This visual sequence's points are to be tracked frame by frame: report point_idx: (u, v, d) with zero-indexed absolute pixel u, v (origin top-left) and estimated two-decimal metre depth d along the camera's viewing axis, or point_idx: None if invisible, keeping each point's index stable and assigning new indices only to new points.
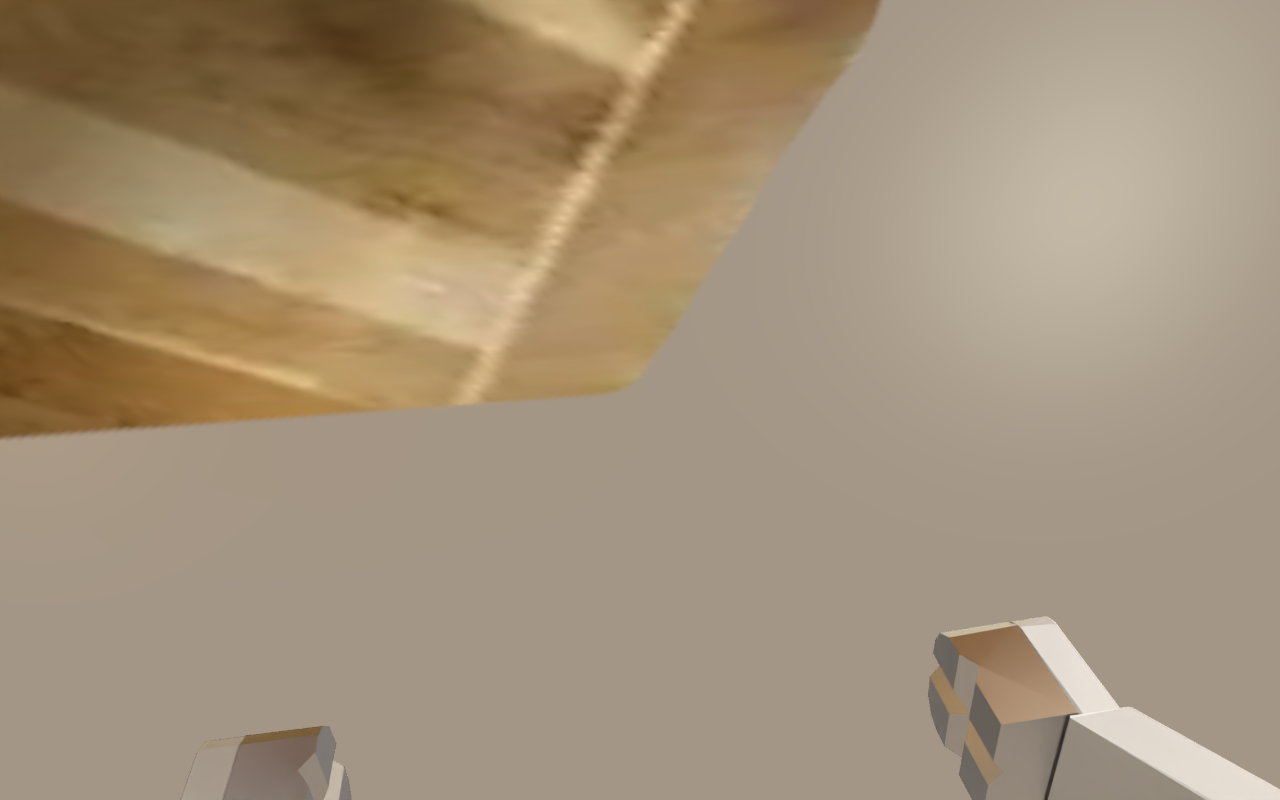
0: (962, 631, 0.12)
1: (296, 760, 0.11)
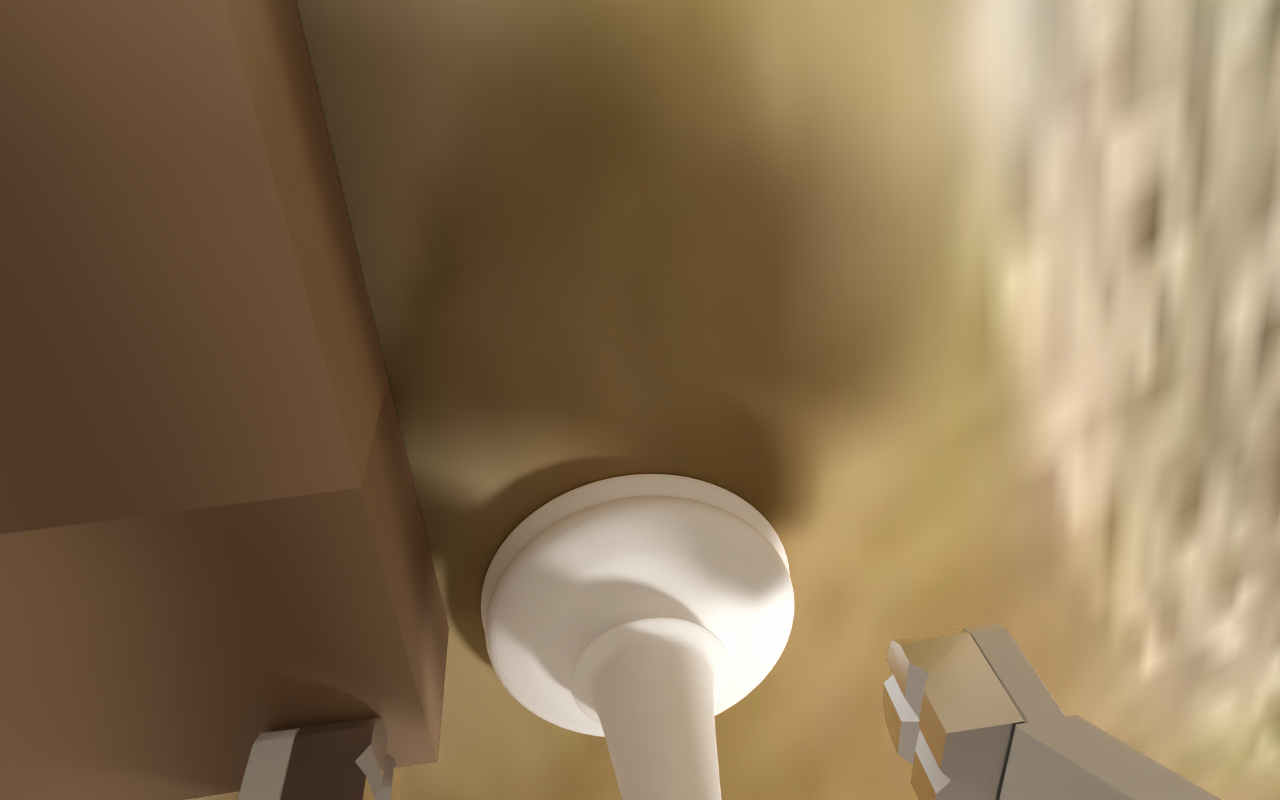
0: (914, 638, 0.12)
1: (353, 752, 0.11)
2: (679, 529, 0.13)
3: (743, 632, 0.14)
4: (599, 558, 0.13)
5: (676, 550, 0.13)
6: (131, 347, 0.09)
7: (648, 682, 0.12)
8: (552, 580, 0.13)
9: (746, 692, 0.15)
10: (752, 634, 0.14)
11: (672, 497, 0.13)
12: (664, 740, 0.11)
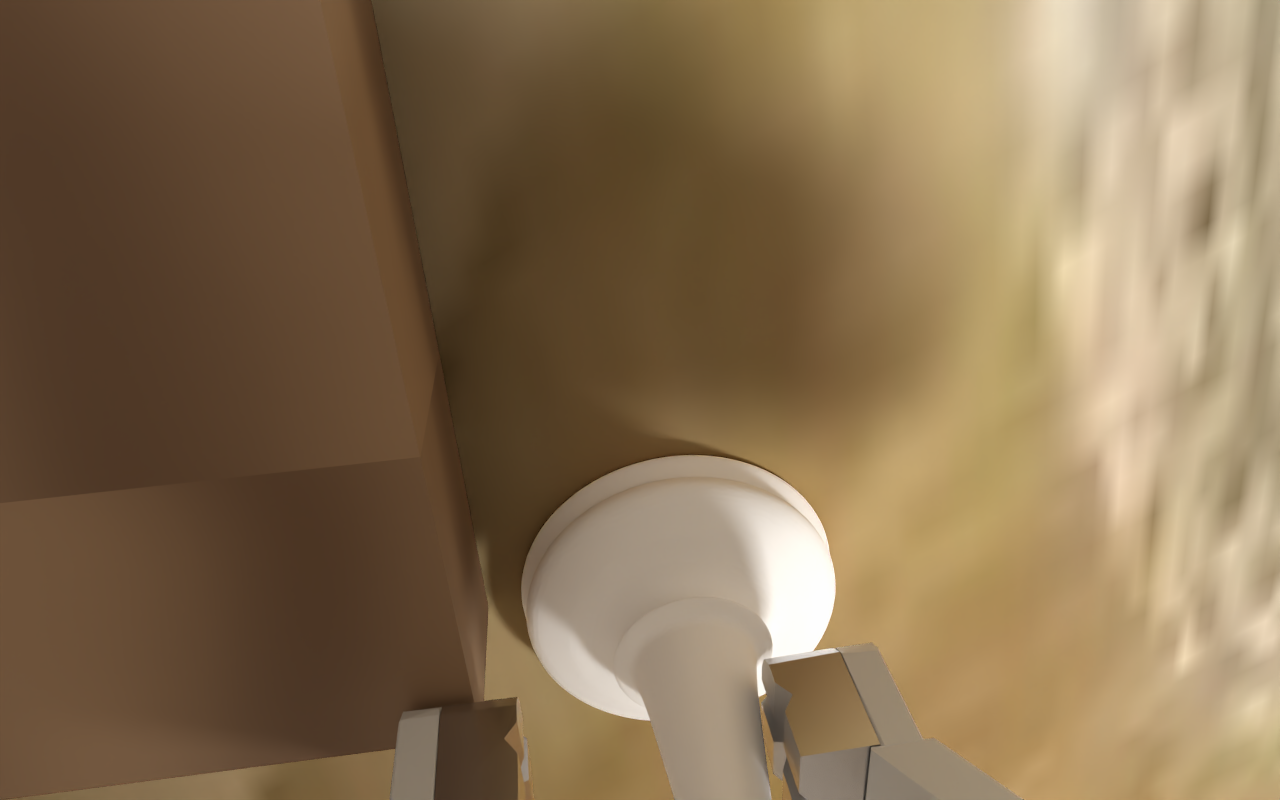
0: (785, 658, 0.12)
1: (499, 729, 0.11)
2: (725, 510, 0.13)
3: (785, 616, 0.14)
4: (645, 538, 0.13)
5: (721, 531, 0.13)
6: (201, 309, 0.09)
7: (694, 661, 0.12)
8: (597, 559, 0.13)
9: None
10: (793, 618, 0.14)
11: (718, 478, 0.13)
12: (712, 718, 0.11)
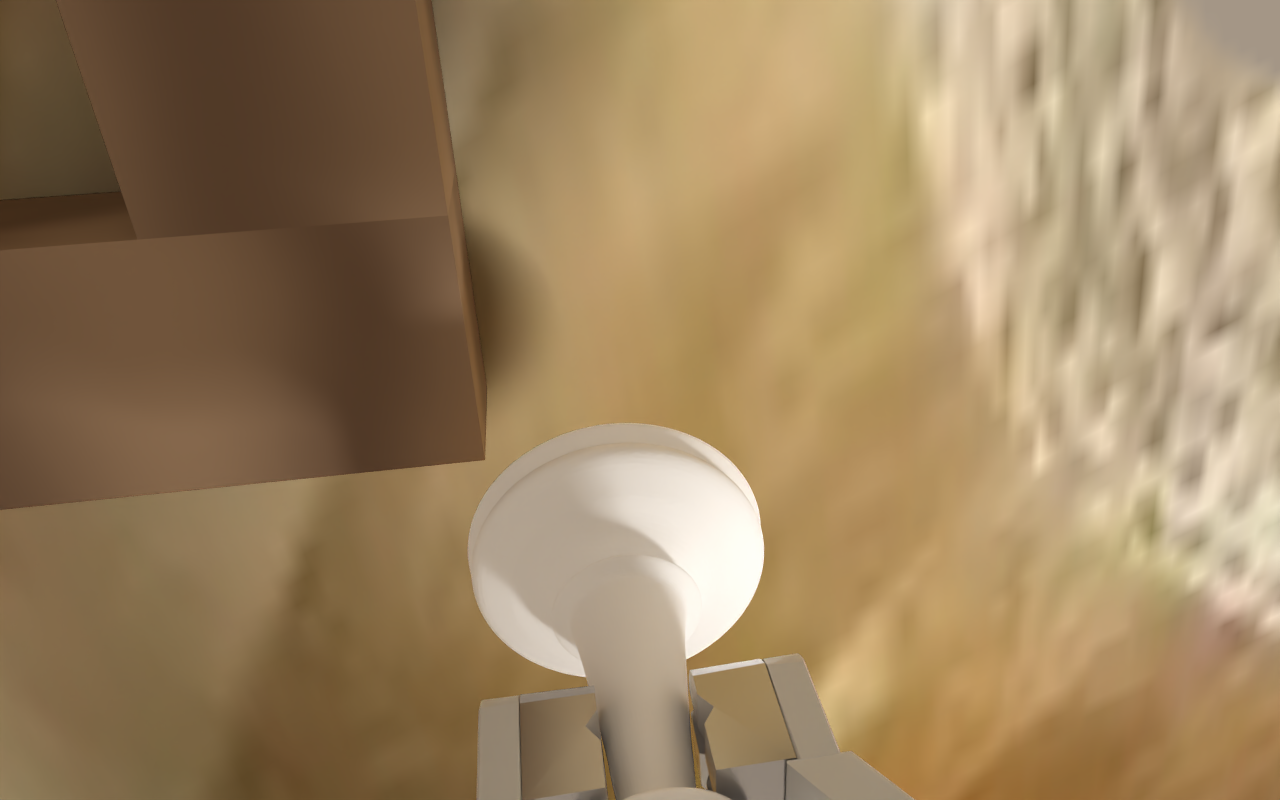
0: (710, 669, 0.12)
1: (580, 717, 0.11)
2: (647, 472, 0.14)
3: (714, 570, 0.14)
4: (572, 502, 0.14)
5: (645, 492, 0.14)
6: (299, 90, 0.13)
7: (620, 614, 0.13)
8: (530, 525, 0.14)
9: (723, 630, 0.15)
10: (723, 572, 0.14)
11: (640, 443, 0.14)
12: (634, 664, 0.12)
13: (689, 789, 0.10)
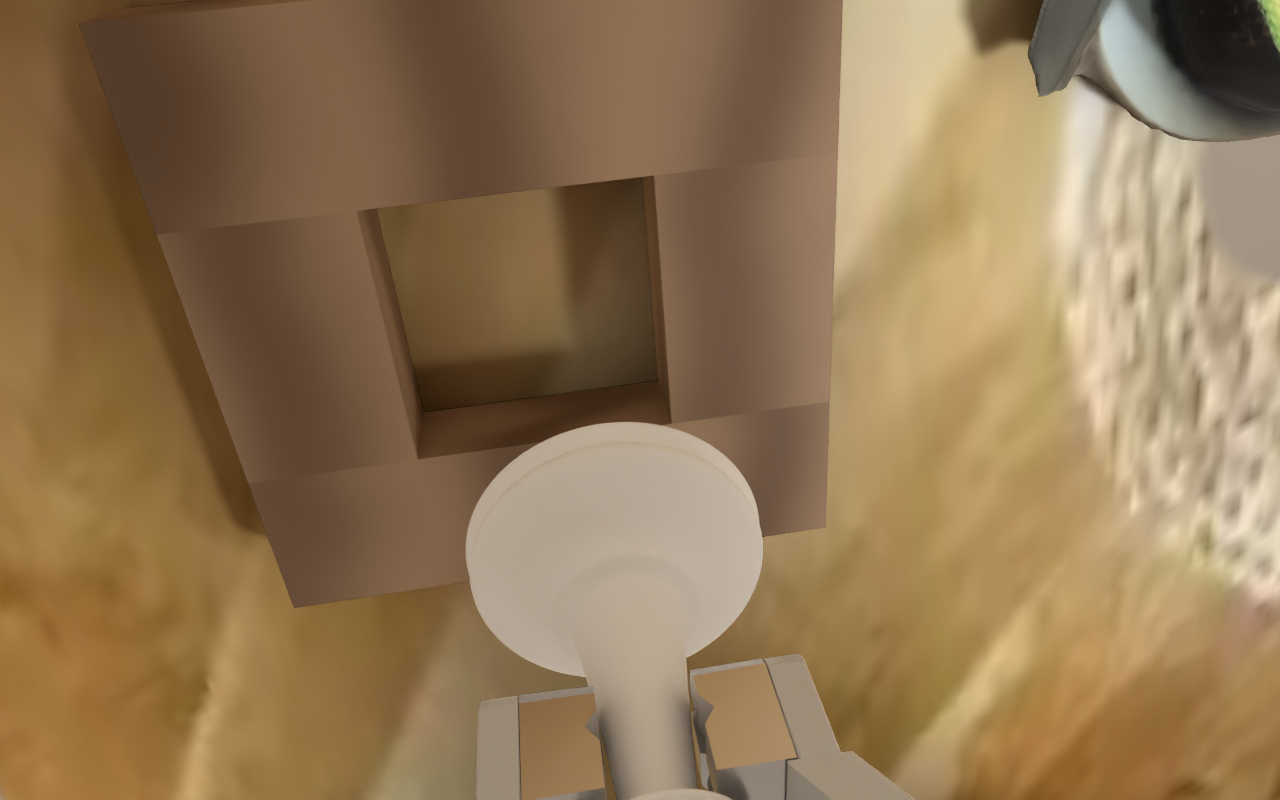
0: (711, 668, 0.12)
1: (580, 717, 0.11)
2: (646, 472, 0.13)
3: (714, 569, 0.14)
4: (571, 503, 0.13)
5: (644, 492, 0.14)
6: (768, 348, 0.24)
7: (620, 614, 0.13)
8: (528, 525, 0.14)
9: (722, 629, 0.15)
10: (723, 571, 0.14)
11: (638, 442, 0.14)
12: (634, 664, 0.12)
13: (692, 790, 0.10)
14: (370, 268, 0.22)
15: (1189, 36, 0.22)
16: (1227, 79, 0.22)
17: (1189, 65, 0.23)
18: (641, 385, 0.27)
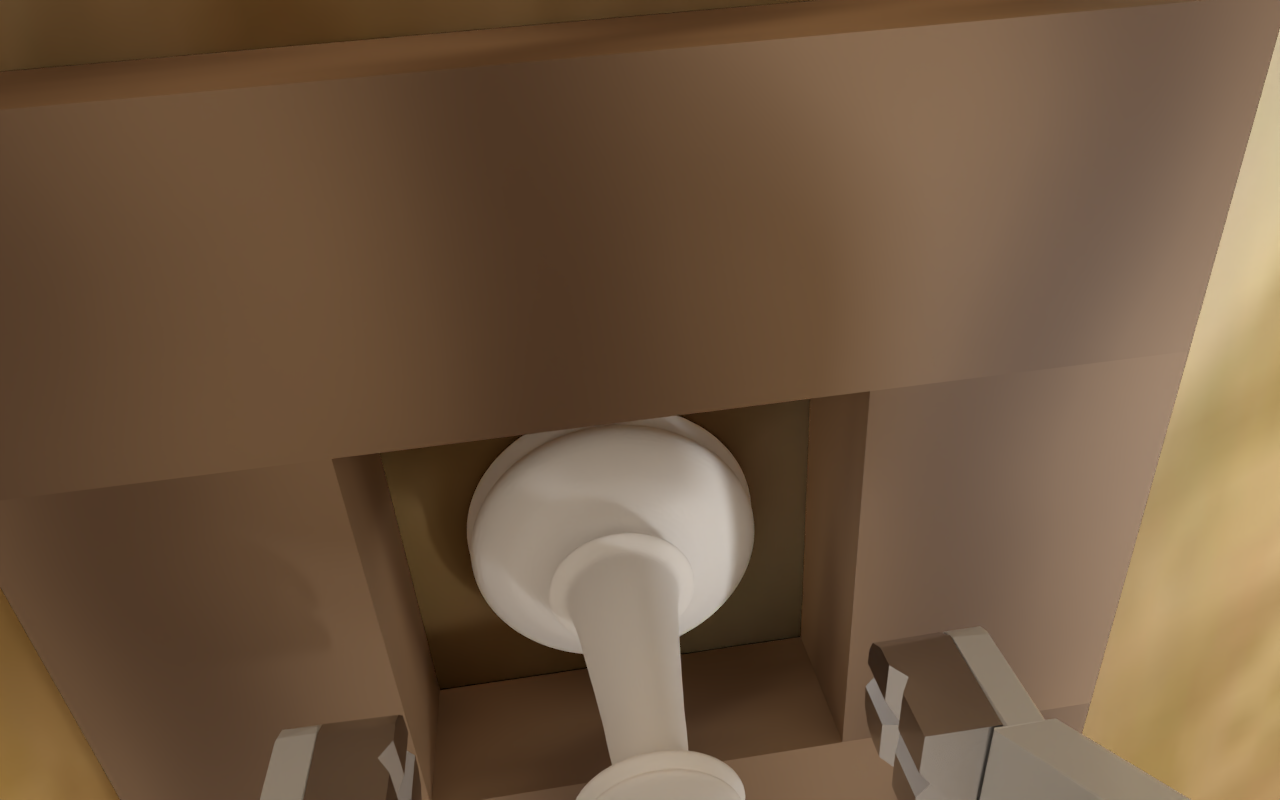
0: (894, 641, 0.12)
1: (375, 748, 0.11)
2: (641, 453, 0.14)
3: (706, 548, 0.15)
4: (569, 483, 0.14)
5: (639, 473, 0.14)
6: (1012, 637, 0.15)
7: (615, 589, 0.13)
8: (527, 505, 0.14)
9: (715, 607, 0.16)
10: (715, 550, 0.15)
11: (634, 425, 0.14)
12: (629, 636, 0.13)
13: (682, 751, 0.10)
14: (356, 546, 0.12)
15: None
16: None
17: None
18: (776, 646, 0.18)
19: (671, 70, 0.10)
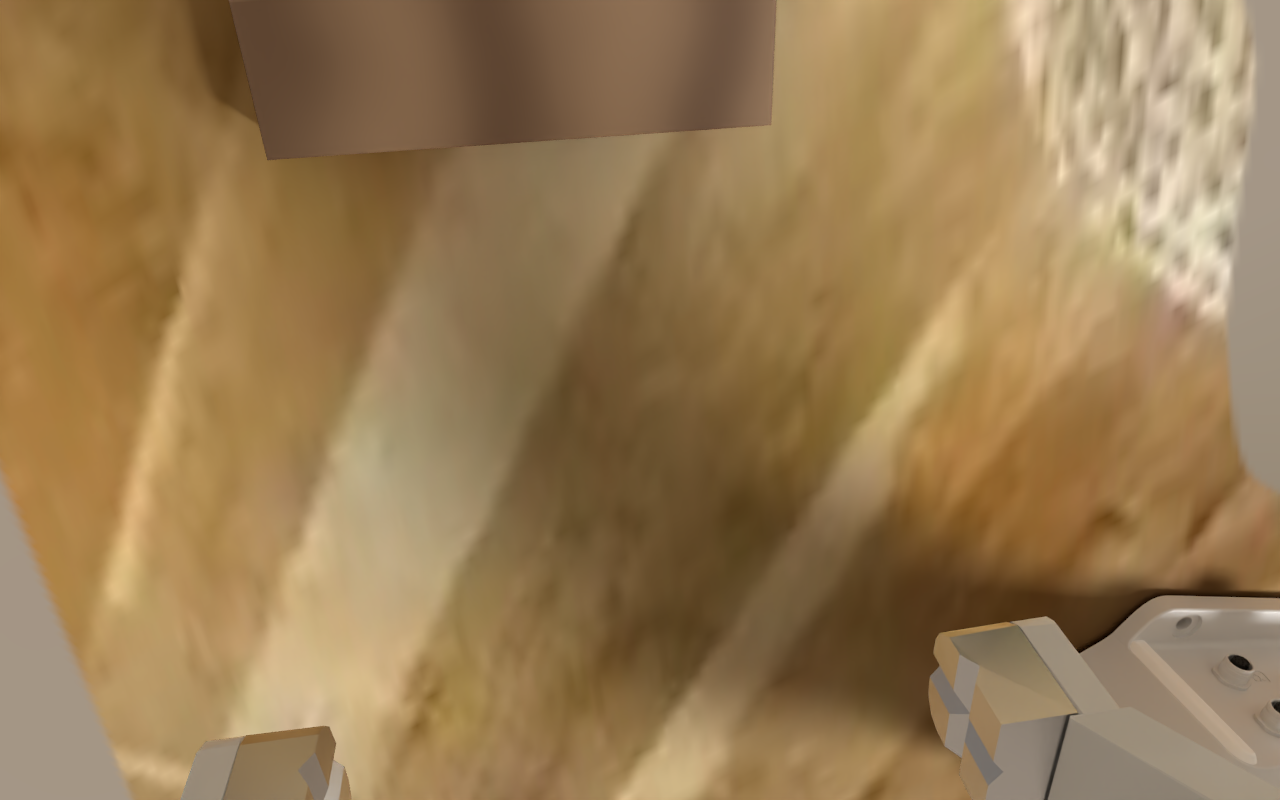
0: (962, 631, 0.12)
1: (296, 760, 0.11)
2: None
3: None
4: None
5: None
6: None
7: None
8: None
9: None
10: None
11: None
12: None
13: None
14: None
15: None
16: None
17: None
18: None
19: None
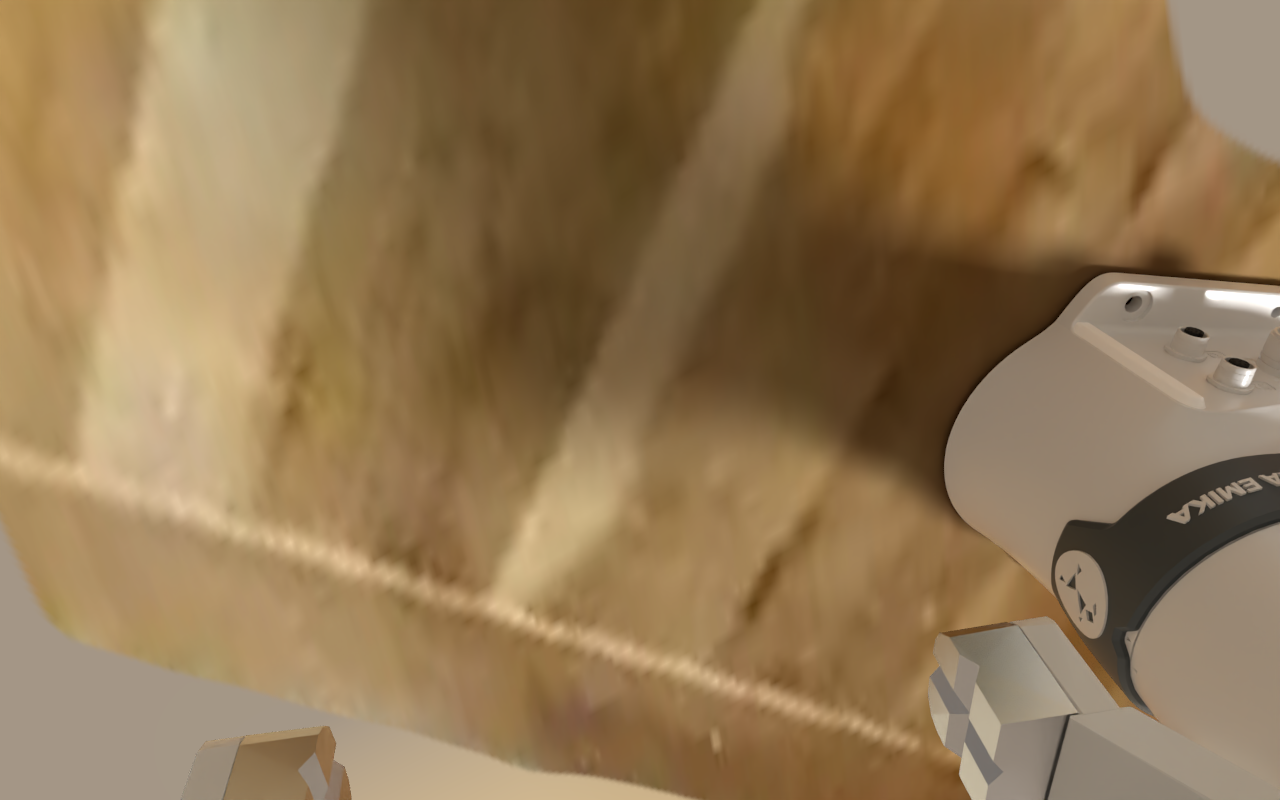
0: (962, 631, 0.12)
1: (296, 760, 0.11)
2: None
3: None
4: None
5: None
6: None
7: None
8: None
9: None
10: None
11: None
12: None
13: None
14: None
15: None
16: None
17: None
18: None
19: None
